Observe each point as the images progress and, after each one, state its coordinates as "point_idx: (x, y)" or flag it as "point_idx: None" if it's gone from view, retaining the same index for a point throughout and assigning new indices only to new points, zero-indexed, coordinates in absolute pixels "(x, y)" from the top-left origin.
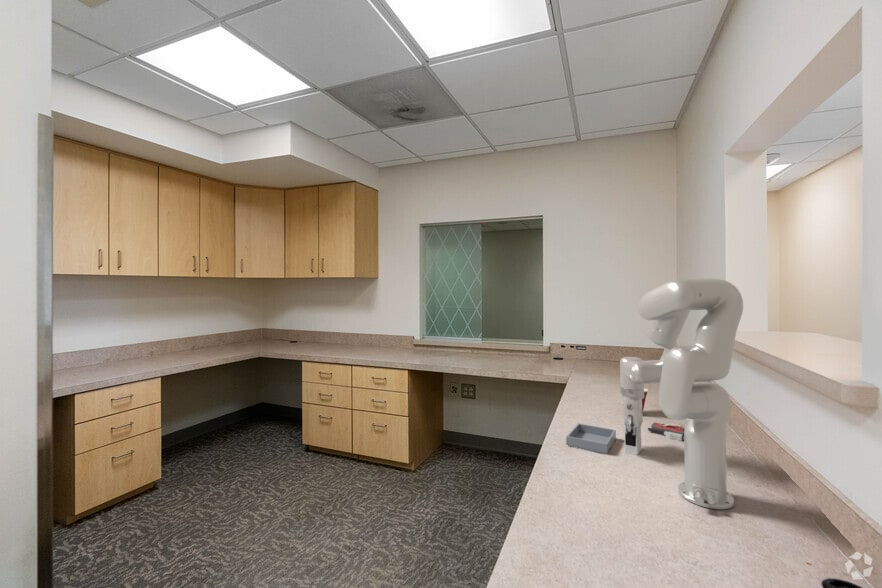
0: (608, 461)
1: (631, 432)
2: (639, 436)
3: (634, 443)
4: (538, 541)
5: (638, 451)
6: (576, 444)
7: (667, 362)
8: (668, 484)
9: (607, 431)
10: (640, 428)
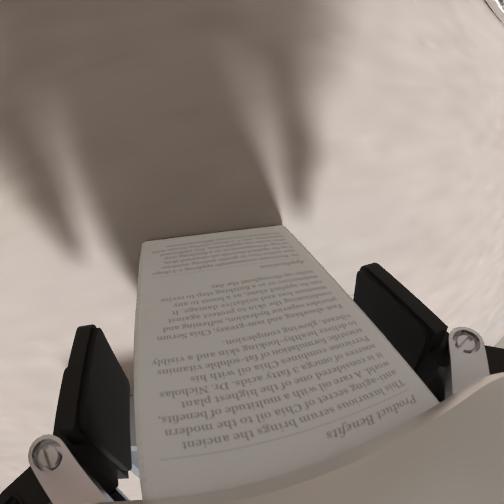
0: (421, 299)
1: (501, 352)
2: (232, 321)
3: (387, 282)
4: None
5: (260, 234)
6: None
7: None
8: (497, 52)
9: (135, 454)
10: (169, 410)
